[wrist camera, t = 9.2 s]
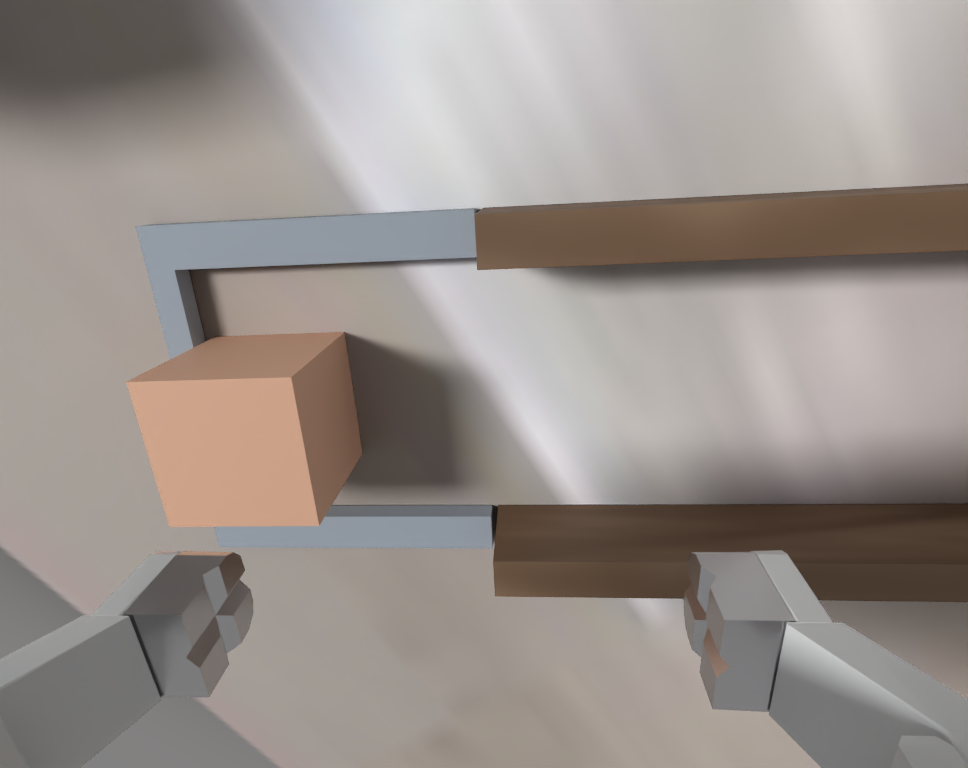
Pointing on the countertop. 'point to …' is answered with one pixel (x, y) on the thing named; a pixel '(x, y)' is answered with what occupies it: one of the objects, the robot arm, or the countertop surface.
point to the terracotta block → (250, 429)
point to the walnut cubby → (729, 528)
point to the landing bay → (303, 244)
